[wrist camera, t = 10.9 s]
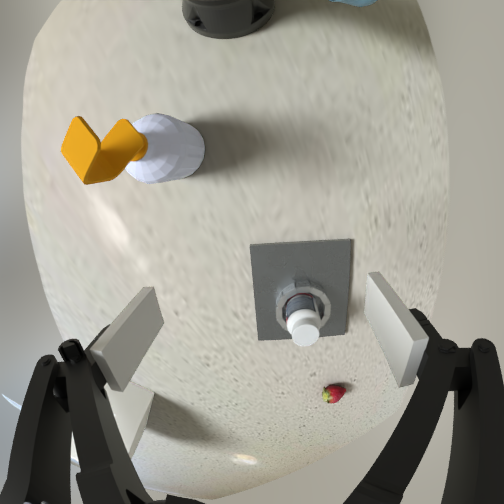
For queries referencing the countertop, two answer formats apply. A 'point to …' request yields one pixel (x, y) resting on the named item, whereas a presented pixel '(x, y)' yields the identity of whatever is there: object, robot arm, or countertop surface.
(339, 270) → the duct plate
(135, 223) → the countertop surface
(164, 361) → the countertop surface
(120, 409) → the white toy house
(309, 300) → the pill bottle
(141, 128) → the soap bottle
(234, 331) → the countertop surface
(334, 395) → the fruit
